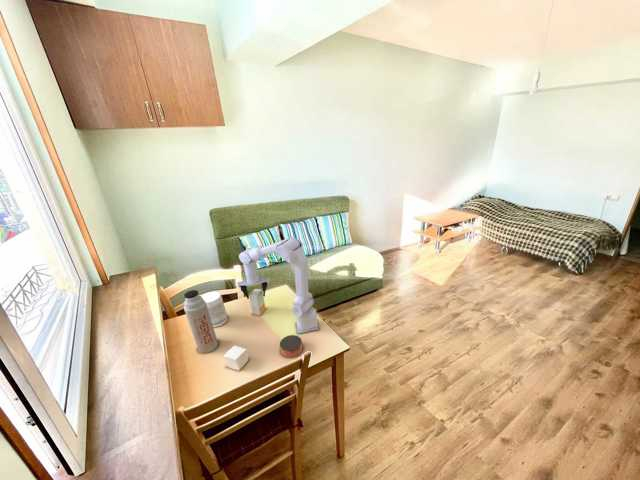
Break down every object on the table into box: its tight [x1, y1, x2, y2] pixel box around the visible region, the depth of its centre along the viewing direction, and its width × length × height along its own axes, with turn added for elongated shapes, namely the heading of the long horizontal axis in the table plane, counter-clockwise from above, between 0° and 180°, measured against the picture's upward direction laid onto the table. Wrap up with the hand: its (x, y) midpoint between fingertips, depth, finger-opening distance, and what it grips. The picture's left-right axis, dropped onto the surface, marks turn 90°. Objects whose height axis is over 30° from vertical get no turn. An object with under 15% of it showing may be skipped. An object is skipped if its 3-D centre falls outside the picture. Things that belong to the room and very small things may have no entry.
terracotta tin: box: [279, 334, 303, 358], centre depth 119 cm, size 9×9×4 cm
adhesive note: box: [223, 345, 249, 372], centre depth 112 cm, size 6×6×6 cm
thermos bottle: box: [183, 289, 219, 354], centre depth 116 cm, size 8×8×28 cm
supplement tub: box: [200, 291, 229, 328], centre depth 134 cm, size 10×10×15 cm
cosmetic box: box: [249, 288, 266, 316], centre depth 141 cm, size 6×4×12 cm
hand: (256, 296), depth 139 cm, fingers open, 7 cm apart
